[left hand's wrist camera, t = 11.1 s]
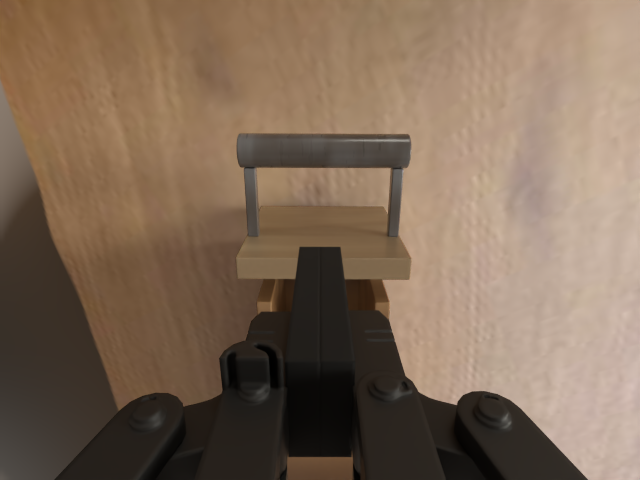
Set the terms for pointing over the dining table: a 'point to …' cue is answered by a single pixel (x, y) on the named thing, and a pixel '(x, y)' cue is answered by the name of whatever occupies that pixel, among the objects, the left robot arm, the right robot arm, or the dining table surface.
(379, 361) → the left robot arm
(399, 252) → the drawer
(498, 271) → the dining table surface
